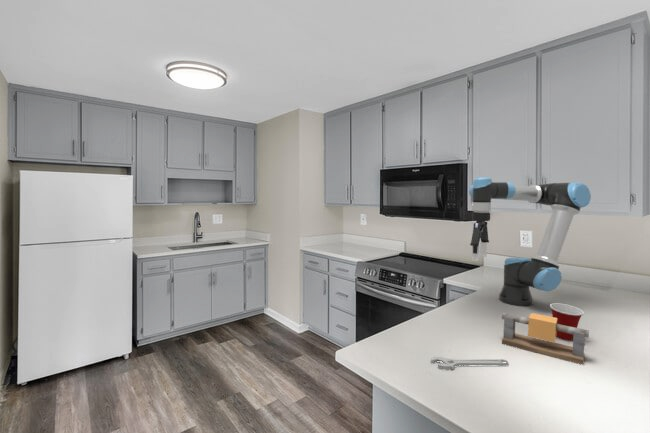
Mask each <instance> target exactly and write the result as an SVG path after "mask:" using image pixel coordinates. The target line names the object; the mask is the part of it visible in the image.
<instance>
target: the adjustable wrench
mask: <svg viewBox="0 0 650 433" xmlns="http://www.w3.org/2000/svg"><path fill="white" fill-rule="evenodd" d="M437 361H442V362H443V363H441V364H440V362H439V363H437V368H439V369H438V370H442V369H452V370H451V371H454V370H455V369H456V367H455V366H459V365H463V366H462V367H465V366H464V365H508V366H509V361H508V360H507V359H503V358H496V359H495V358H494V359H492V358H491V359H490V358H487V359H453V358H447V357H443V356H433V357H431V359H430V364H431V363H433V364H436V363H435V362H437ZM503 362H506V363H503ZM459 367H460V366H459Z"/></svg>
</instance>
